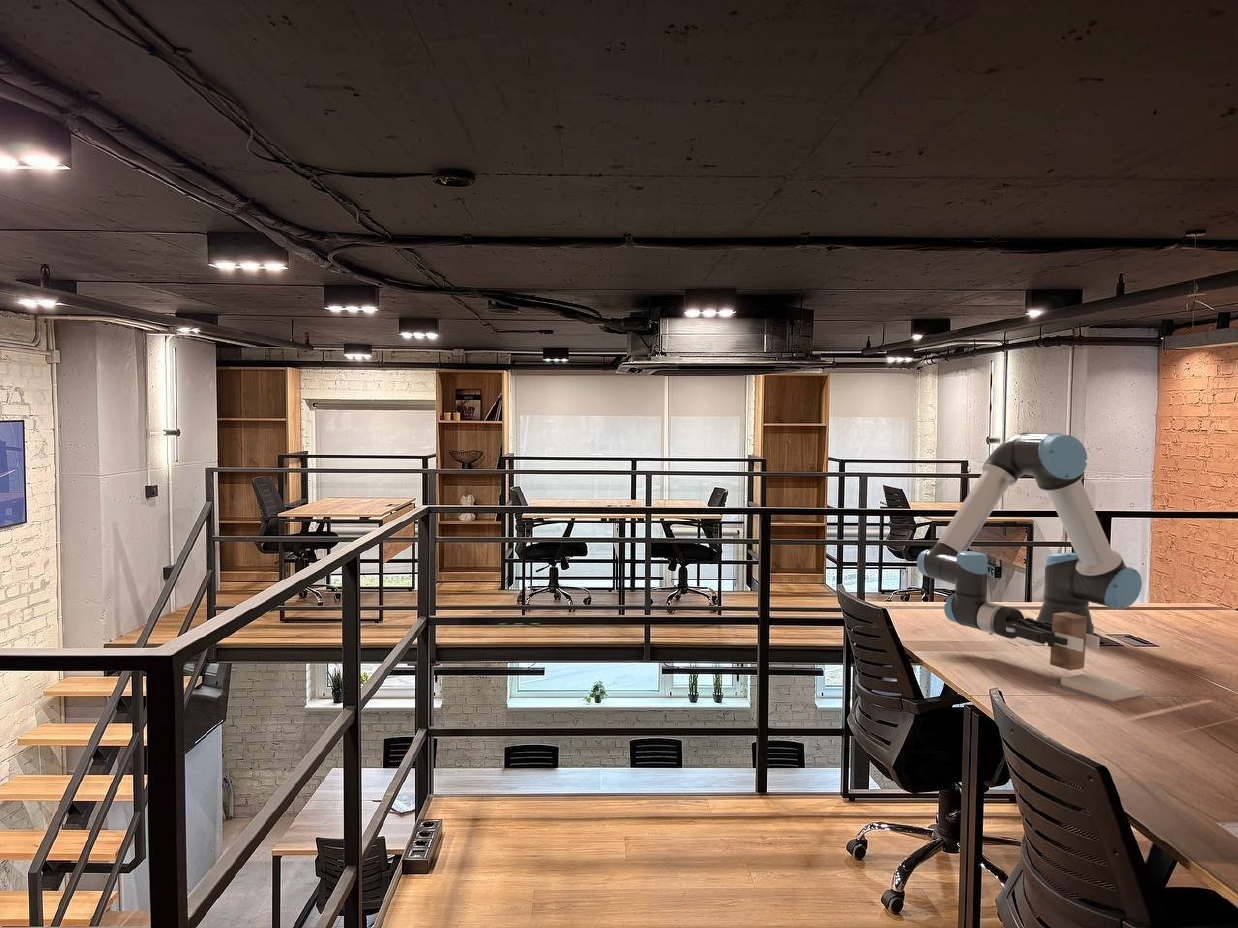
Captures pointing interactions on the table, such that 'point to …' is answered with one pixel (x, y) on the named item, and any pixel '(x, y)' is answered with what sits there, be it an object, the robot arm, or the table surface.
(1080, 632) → the walnut block
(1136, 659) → the table surface
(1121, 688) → the tile
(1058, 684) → the slate mat
